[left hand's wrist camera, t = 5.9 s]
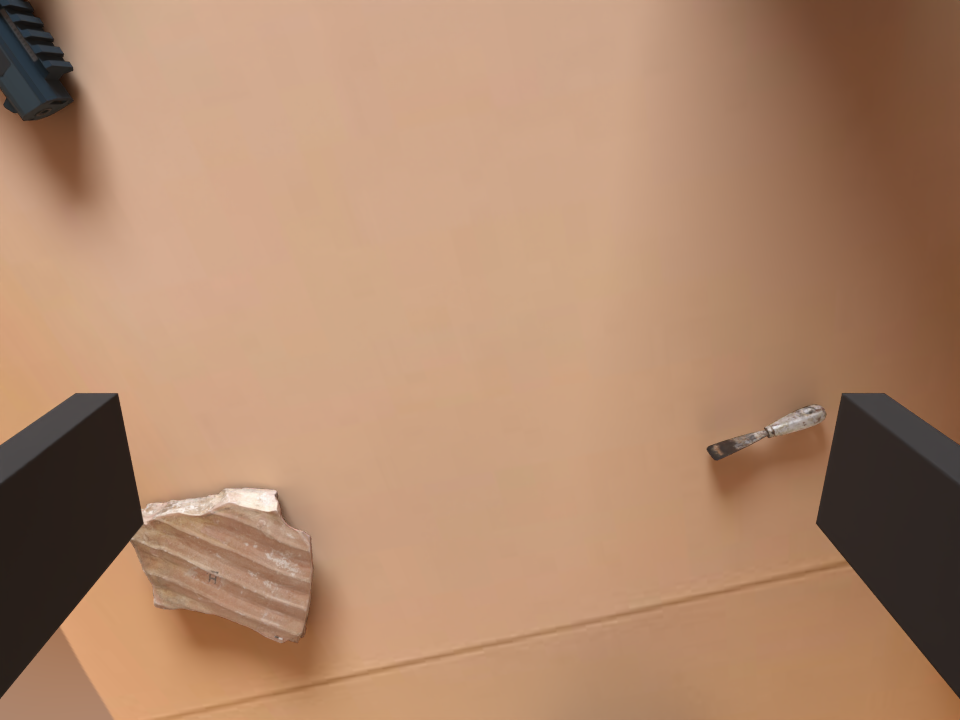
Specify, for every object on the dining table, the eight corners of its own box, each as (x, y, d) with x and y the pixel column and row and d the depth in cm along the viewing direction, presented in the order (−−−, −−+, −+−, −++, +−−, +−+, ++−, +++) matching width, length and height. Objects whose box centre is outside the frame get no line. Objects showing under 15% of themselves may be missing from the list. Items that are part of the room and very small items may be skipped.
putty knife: (821, 412, 46) (833, 422, 44) (708, 456, 47) (716, 467, 45) (817, 399, 45) (829, 409, 44) (703, 444, 46) (711, 455, 45)
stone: (327, 498, 48) (318, 518, 46) (310, 630, 52) (301, 655, 50) (143, 467, 47) (125, 486, 45) (141, 603, 51) (124, 627, 49)
